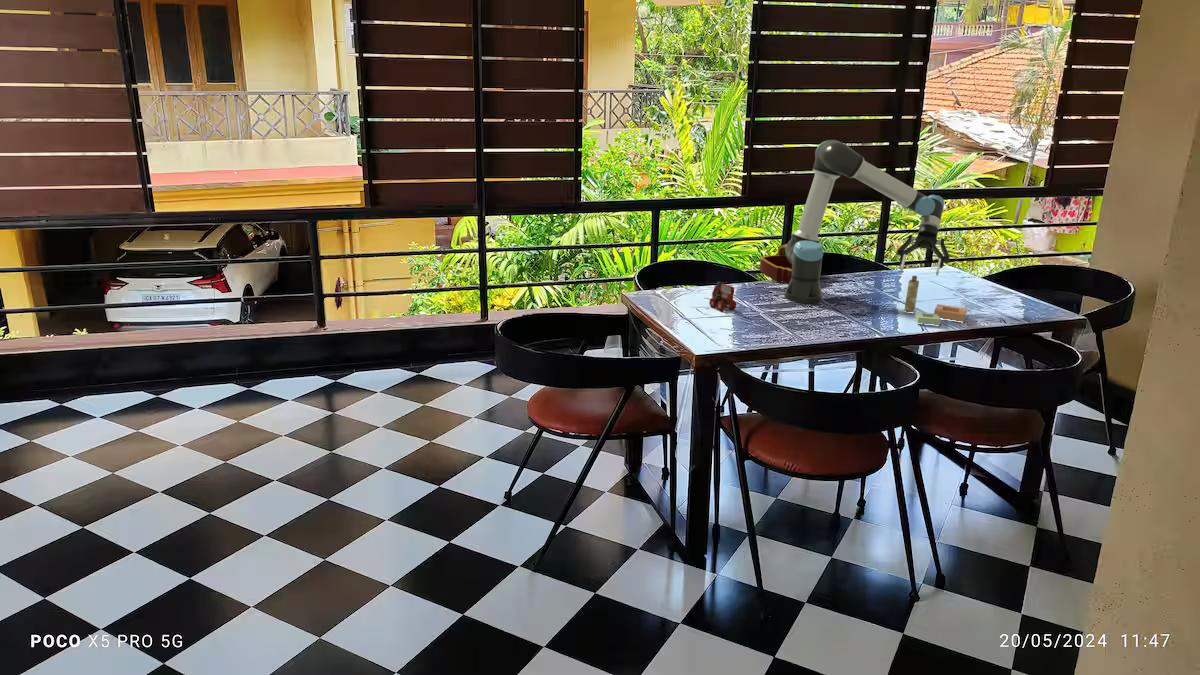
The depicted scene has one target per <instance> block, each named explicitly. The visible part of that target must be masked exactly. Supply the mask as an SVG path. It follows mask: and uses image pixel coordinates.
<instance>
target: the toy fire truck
mask: <svg viewBox="0 0 1200 675" xmlns="http://www.w3.org/2000/svg"><path fill="white" fill-rule="evenodd" d="M734 294H735V288H734V286H732V285H729V284H727V283H722V282H721V281H717V283H716V285H714V288H713V290H712V293H711V298H709V306H710V308H712V309H717V311H718V312H724V311H725V309H729V310H730V311H735V310H736V308H737V302H736V300H735V299H734Z"/></svg>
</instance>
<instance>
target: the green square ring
mask: <svg viewBox="0 0 1200 675" xmlns="http://www.w3.org/2000/svg"><path fill="white" fill-rule="evenodd" d="M914 319H916V321H917V323H923V324H934V325H941V321H942V320H941V319H940V317H939V316H938V314H934V312H933V313H932V312H931V313H930V312H921V311H914ZM916 321H915V322H916ZM917 323H916V324H917Z"/></svg>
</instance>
